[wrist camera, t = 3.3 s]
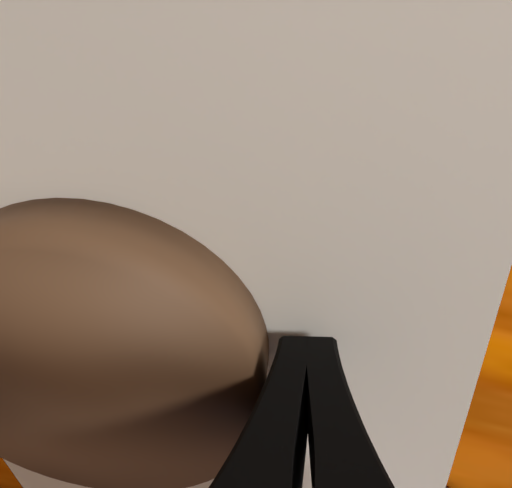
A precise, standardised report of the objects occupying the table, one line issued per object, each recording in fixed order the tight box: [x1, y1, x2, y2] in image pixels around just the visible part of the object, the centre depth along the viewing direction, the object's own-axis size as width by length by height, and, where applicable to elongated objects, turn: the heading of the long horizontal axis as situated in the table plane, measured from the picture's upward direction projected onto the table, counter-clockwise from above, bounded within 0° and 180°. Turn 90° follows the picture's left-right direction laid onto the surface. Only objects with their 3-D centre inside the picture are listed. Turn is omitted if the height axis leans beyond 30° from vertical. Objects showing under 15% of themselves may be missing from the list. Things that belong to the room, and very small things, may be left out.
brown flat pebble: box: [0, 198, 269, 488], centre depth 12 cm, size 9×9×2 cm
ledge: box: [0, 0, 512, 488], centre depth 14 cm, size 18×16×3 cm
